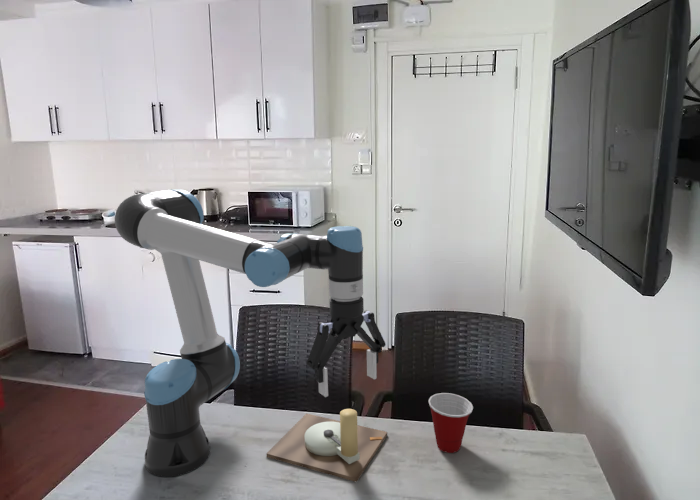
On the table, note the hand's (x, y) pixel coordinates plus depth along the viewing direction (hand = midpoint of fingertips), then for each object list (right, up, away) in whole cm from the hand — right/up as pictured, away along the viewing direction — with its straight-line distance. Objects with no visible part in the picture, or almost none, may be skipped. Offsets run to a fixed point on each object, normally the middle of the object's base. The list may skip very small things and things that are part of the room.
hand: (348, 385), depth 116 cm
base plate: (-5, -18, +12) cm, 22 cm away
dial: (-4, -18, +9) cm, 20 cm away
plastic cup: (+25, -18, +10) cm, 33 cm away
